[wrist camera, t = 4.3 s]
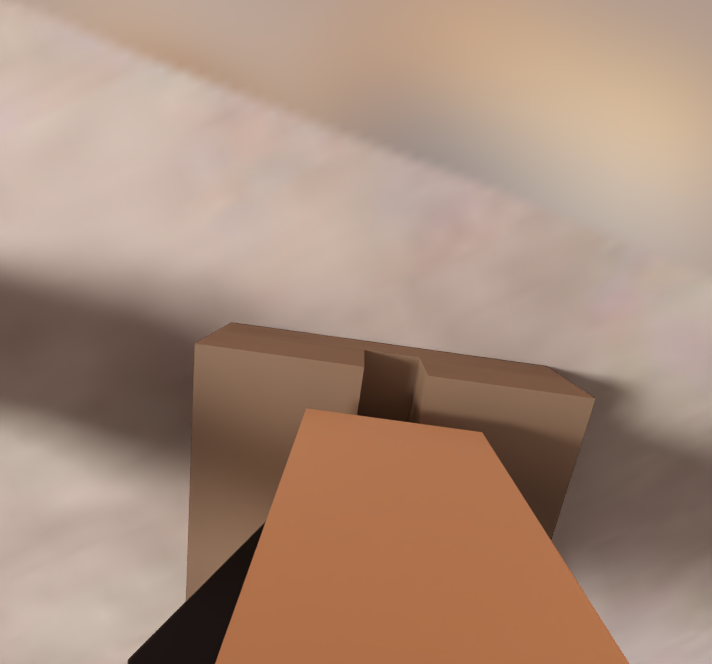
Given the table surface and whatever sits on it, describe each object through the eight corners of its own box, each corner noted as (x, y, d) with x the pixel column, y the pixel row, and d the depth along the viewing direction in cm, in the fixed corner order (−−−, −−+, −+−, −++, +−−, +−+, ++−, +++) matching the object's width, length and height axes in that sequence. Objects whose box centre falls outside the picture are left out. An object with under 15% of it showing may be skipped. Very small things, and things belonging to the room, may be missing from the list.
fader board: (419, 825, 17) (429, 929, 14) (203, 799, 16) (174, 898, 14) (546, 366, 11) (598, 400, 9) (231, 322, 11) (192, 344, 9)
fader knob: (425, 539, 11) (569, 1220, 3) (300, 522, 11) (151, 1170, 3) (457, 393, 10) (785, 908, 2) (318, 374, 10) (155, 829, 2)
